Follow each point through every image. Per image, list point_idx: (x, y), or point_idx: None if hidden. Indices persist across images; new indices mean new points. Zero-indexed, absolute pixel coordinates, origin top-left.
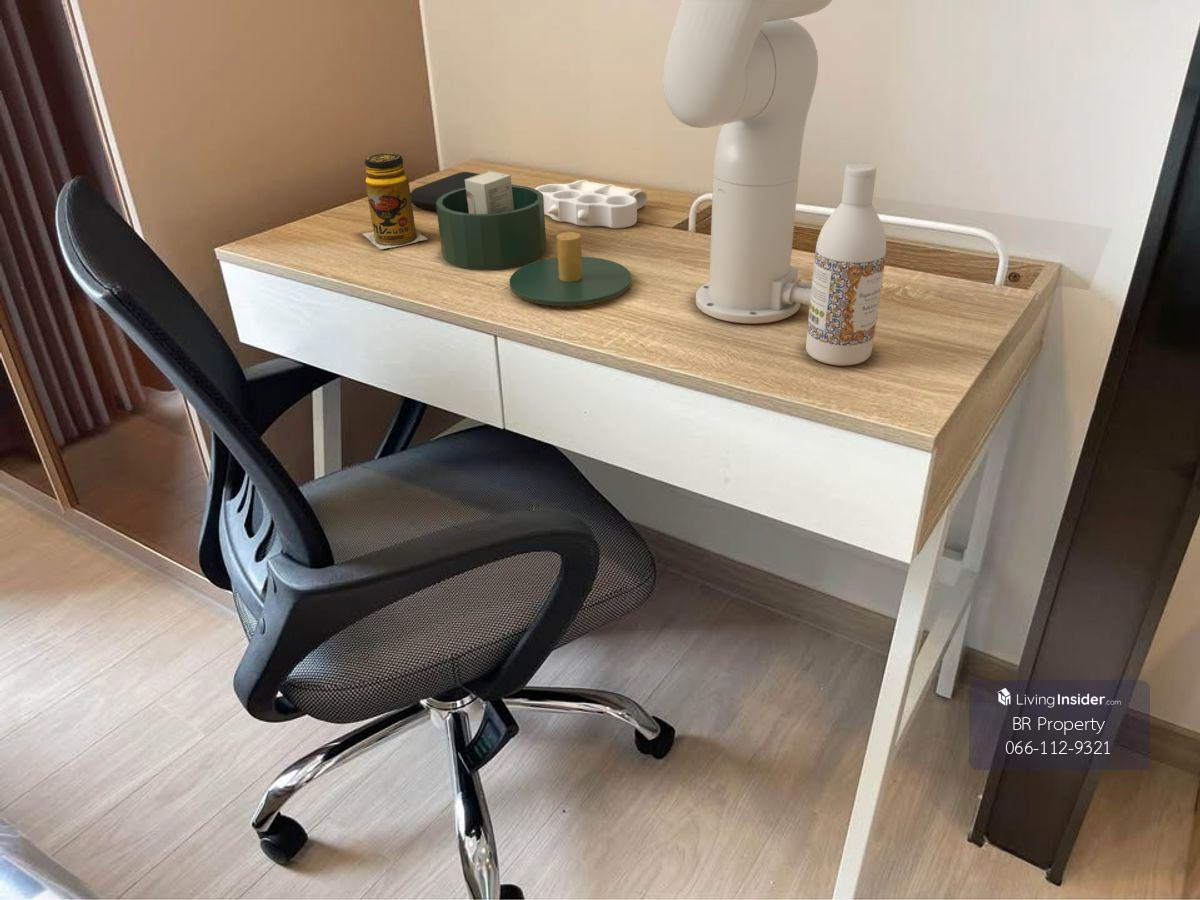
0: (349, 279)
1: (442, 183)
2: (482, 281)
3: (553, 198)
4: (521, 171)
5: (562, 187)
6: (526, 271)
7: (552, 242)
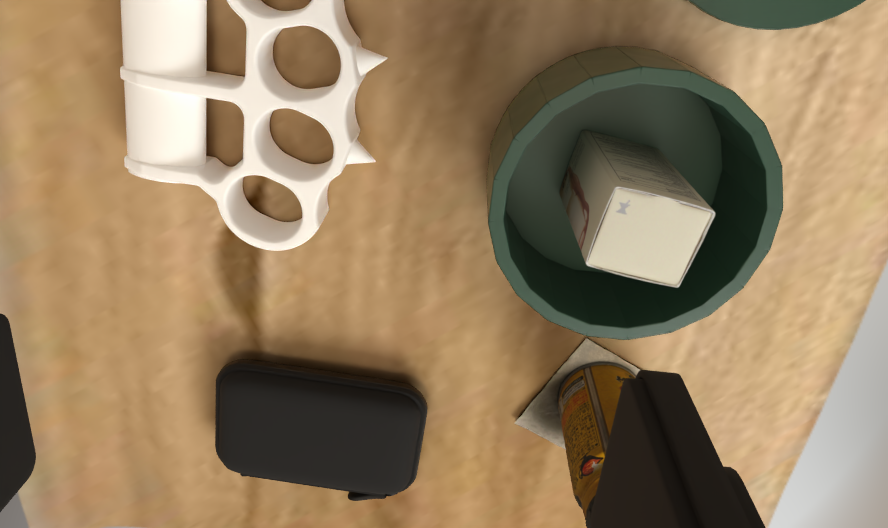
0: (836, 354)
1: (336, 461)
2: (798, 98)
3: (340, 165)
4: (58, 398)
5: (228, 195)
6: (780, 1)
7: (503, 73)
